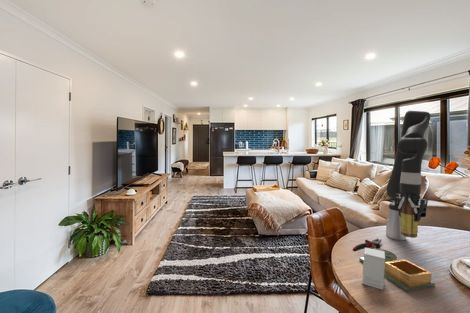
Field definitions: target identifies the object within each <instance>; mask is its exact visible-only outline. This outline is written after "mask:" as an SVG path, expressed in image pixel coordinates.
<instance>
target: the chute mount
mask: <svg viewBox="0 0 470 313" xmlns="http://www.w3.org/2000/svg"><path fill="white" fill-rule="evenodd" d="M373 249H375V250H380V251H384V252H385V269H384V279H387V280H389V281H390V282H391V283H393V284H394V285H396V286H397V287H400V288H401V289H402V290H404V291H405V292H407V293H408V292H412V291H419V290H423V289H428V288H432V287H433V288H434V287H436V283H435V282H434V281H432V273H431V271H428V270H427V269H424V268H423V267H420V266H419V265H417V264H415V263H413V262H411V261H409V260H407V259H398V260H397V258H398V257H397V254H395V253H393V252H392V251H389V250H386V249H383V248H380V249H377V248H373ZM363 261H364V256H362V257H359V262H361V263H362V264H363Z"/></svg>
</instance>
